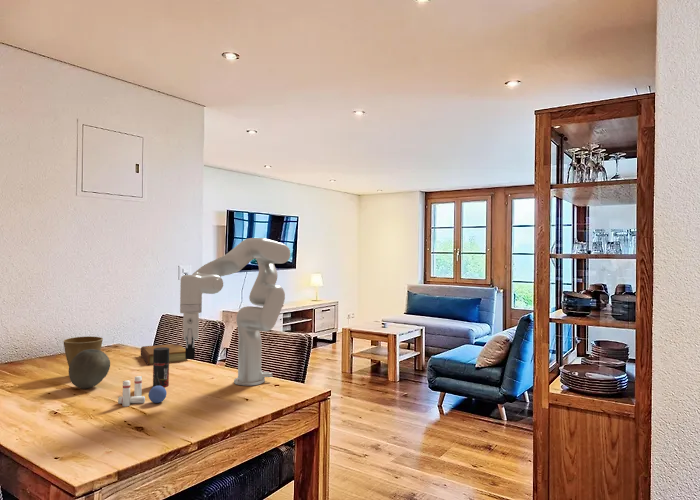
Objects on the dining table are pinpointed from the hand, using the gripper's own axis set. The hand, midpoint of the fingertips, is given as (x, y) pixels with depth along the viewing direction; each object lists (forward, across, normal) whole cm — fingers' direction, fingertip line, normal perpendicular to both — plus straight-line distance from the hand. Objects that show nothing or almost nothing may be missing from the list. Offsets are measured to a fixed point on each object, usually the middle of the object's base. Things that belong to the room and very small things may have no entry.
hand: (190, 358), depth 178 cm
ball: (+12, -1, +11) cm, 16 cm away
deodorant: (+15, +22, +12) cm, 29 cm away
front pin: (+14, 0, +15) cm, 21 cm away
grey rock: (+15, +26, +39) cm, 49 cm away
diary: (+16, +76, +16) cm, 79 cm away
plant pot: (+15, +46, +46) cm, 67 cm away
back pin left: (+15, -2, +21) cm, 26 cm away
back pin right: (+15, +4, +18) cm, 24 cm away
